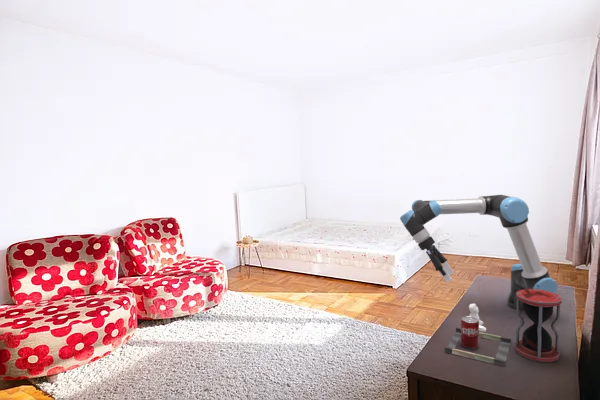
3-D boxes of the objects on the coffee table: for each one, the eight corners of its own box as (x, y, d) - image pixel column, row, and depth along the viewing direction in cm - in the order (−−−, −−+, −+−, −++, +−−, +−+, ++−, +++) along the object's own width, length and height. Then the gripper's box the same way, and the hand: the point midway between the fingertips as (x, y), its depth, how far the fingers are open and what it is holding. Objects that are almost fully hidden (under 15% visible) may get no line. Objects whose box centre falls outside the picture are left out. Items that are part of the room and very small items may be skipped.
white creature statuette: (487, 333, 183) (487, 308, 182) (467, 331, 185) (467, 307, 184) (482, 324, 192) (482, 300, 191) (463, 323, 194) (464, 300, 193)
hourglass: (555, 346, 168) (557, 290, 165) (563, 365, 154) (565, 304, 151) (513, 340, 175) (514, 286, 172) (516, 358, 160) (518, 299, 157)
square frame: (456, 331, 186) (456, 327, 186) (510, 342, 173) (511, 338, 173) (444, 352, 168) (444, 347, 168) (504, 366, 155) (504, 361, 155)
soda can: (480, 350, 168) (481, 323, 167) (462, 349, 170) (462, 322, 168) (476, 341, 175) (476, 316, 174) (459, 341, 177) (459, 315, 175)
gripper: (421, 240, 202) (446, 275, 198) (412, 248, 180) (441, 288, 175) (433, 232, 199) (459, 267, 195) (426, 239, 177) (455, 279, 172)
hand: (450, 277), depth 185 cm, fingers open, 13 cm apart
